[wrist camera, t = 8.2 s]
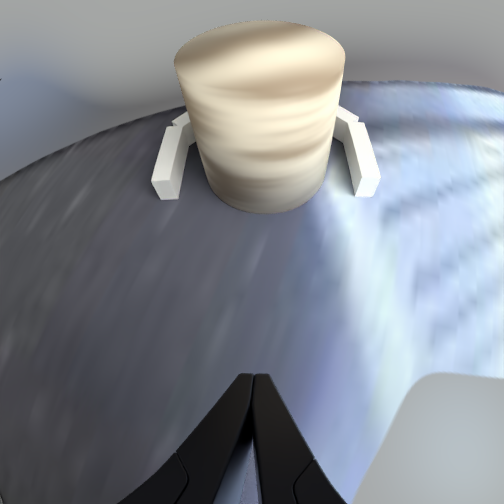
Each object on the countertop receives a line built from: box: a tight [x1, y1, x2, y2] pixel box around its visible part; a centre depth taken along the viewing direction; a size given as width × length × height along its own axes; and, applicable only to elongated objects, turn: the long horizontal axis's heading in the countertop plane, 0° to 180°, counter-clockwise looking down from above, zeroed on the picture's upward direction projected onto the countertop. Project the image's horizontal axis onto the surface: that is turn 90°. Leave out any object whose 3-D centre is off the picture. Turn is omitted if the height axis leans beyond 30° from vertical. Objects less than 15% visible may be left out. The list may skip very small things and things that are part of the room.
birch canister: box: [174, 21, 345, 214], centre depth 19 cm, size 10×10×11 cm
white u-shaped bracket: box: [151, 106, 381, 200], centre depth 24 cm, size 12×17×2 cm
